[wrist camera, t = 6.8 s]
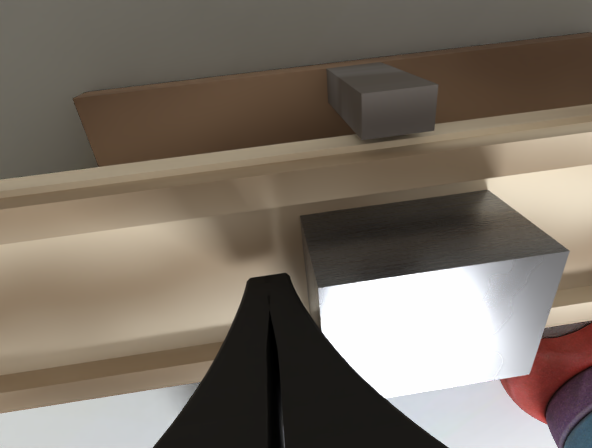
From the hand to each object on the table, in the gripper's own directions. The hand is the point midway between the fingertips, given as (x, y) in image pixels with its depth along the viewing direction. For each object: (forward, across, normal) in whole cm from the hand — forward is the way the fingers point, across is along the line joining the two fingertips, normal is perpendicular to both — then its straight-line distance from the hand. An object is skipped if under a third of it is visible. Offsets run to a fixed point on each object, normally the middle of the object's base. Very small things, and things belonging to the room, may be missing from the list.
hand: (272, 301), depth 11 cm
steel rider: (+1, -4, 0) cm, 4 cm away
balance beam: (+2, -4, 0) cm, 4 cm away
